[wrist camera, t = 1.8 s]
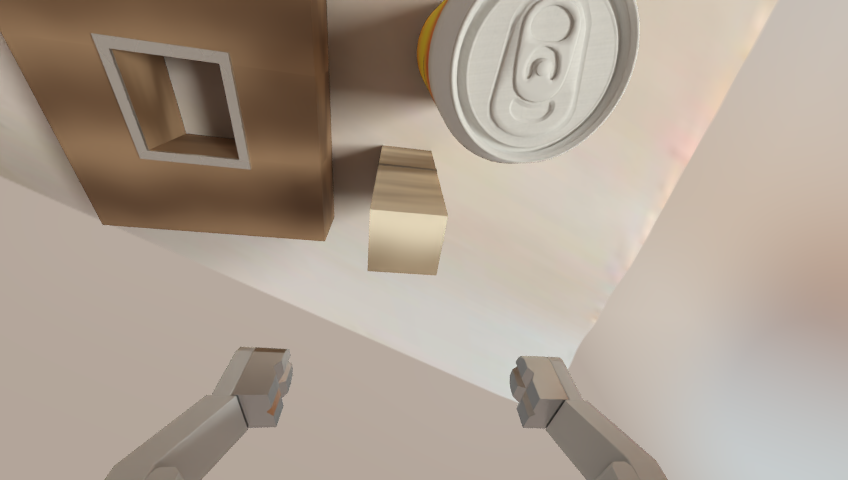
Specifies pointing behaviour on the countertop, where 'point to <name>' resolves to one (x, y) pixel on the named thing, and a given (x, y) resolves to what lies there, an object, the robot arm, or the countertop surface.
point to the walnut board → (160, 117)
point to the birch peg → (406, 213)
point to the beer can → (527, 71)
